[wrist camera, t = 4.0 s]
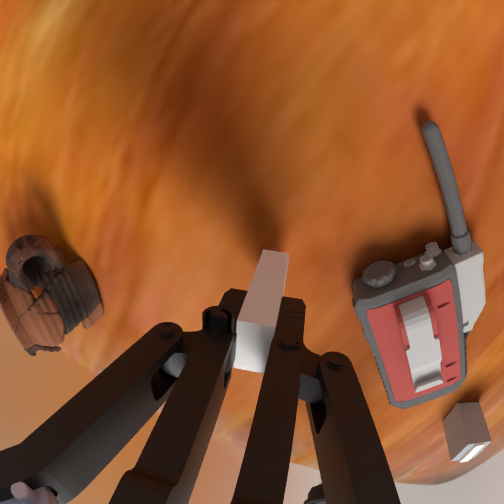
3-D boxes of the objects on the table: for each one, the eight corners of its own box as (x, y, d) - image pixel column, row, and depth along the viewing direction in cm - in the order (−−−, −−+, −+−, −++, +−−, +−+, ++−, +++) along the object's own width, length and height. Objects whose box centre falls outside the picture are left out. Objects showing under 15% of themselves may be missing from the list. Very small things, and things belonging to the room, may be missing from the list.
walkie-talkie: (479, 358, 20) (434, 114, 14) (495, 396, 16) (469, 118, 10) (388, 392, 23) (297, 169, 17) (393, 433, 19) (292, 187, 13)
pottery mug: (116, 338, 27) (46, 382, 21) (72, 277, 30) (11, 311, 25) (93, 243, 18) (-13, 300, 13) (49, 182, 22) (-32, 220, 17)
